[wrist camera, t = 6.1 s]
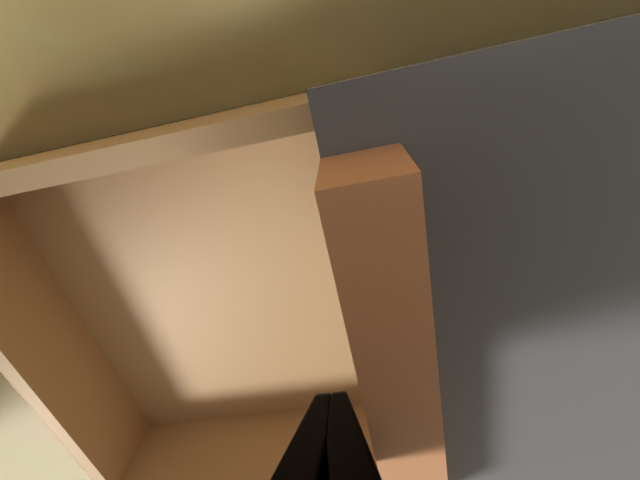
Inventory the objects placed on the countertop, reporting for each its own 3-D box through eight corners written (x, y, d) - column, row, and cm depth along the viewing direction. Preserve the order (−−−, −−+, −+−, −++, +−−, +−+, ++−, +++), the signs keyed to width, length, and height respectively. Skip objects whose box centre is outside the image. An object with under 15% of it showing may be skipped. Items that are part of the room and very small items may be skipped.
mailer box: (148, 426, 18) (109, 501, 15) (-21, 166, 12) (-143, 202, 9) (422, 399, 17) (441, 478, 13) (383, 74, 10) (401, 81, 7)
